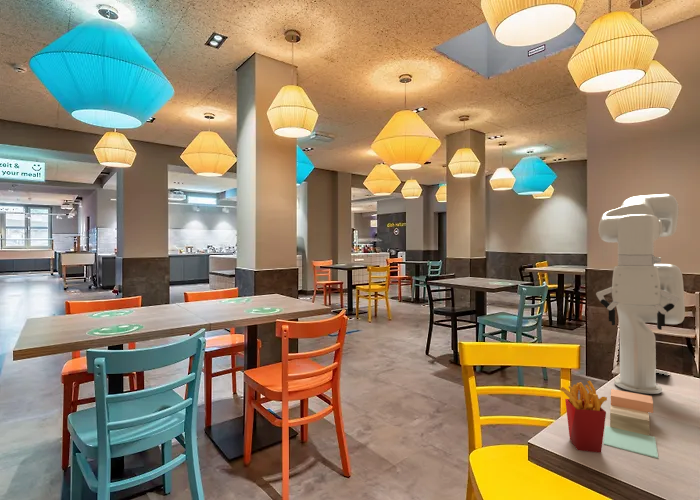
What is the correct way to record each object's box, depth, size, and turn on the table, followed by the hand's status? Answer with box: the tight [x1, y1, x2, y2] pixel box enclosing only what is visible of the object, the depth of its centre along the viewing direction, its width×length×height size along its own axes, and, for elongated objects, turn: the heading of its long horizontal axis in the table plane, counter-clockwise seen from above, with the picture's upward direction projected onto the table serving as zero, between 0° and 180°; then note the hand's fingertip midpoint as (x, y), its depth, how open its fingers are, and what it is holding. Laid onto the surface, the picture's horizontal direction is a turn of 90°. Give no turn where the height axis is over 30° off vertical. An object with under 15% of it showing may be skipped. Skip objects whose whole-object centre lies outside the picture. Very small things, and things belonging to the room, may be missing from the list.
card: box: [610, 388, 654, 414], centre depth 101 cm, size 6×9×2 cm, turn 54°
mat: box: [603, 425, 659, 459], centre depth 90 cm, size 11×10×1 cm
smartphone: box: [656, 369, 669, 376], centre depth 137 cm, size 7×16×1 cm, turn 135°
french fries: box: [559, 380, 608, 454], centre depth 89 cm, size 9×8×15 cm
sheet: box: [609, 404, 651, 436], centre depth 101 cm, size 16×8×4 cm, turn 144°
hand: (635, 326), depth 98 cm, fingers open, 9 cm apart
